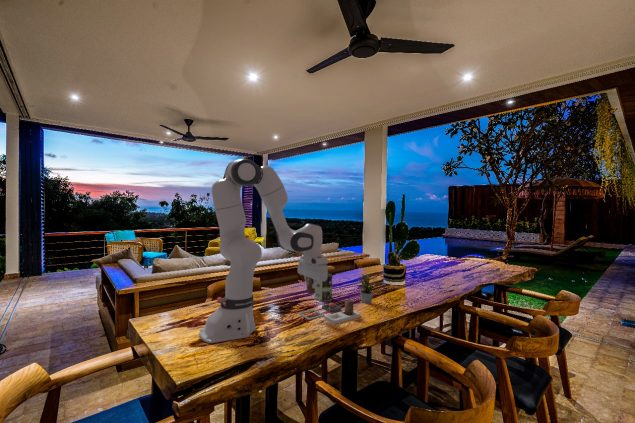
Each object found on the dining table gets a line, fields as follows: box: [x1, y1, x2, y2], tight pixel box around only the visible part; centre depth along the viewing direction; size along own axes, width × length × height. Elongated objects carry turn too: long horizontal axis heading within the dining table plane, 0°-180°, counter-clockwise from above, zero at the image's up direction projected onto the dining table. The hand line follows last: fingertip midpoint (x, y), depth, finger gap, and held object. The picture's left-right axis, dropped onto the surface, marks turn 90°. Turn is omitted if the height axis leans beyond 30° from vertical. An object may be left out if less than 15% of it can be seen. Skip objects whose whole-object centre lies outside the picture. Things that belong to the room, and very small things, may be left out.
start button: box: [328, 302, 335, 308], centre depth 150 cm, size 3×3×3 cm
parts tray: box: [298, 309, 326, 321], centre depth 141 cm, size 9×9×2 cm
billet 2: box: [344, 299, 354, 316], centre depth 140 cm, size 4×4×7 cm
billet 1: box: [306, 277, 315, 294], centre depth 141 cm, size 4×4×7 cm
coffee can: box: [313, 272, 333, 302], centre depth 169 cm, size 10×10×14 cm
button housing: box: [321, 303, 342, 314], centre depth 150 cm, size 7×7×2 cm
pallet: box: [323, 310, 361, 325], centre depth 138 cm, size 16×7×2 cm, turn 125°
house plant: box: [355, 273, 377, 306], centre depth 164 cm, size 14×14×16 cm
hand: (311, 286), depth 141 cm, fingers closed on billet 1, 4 cm apart
